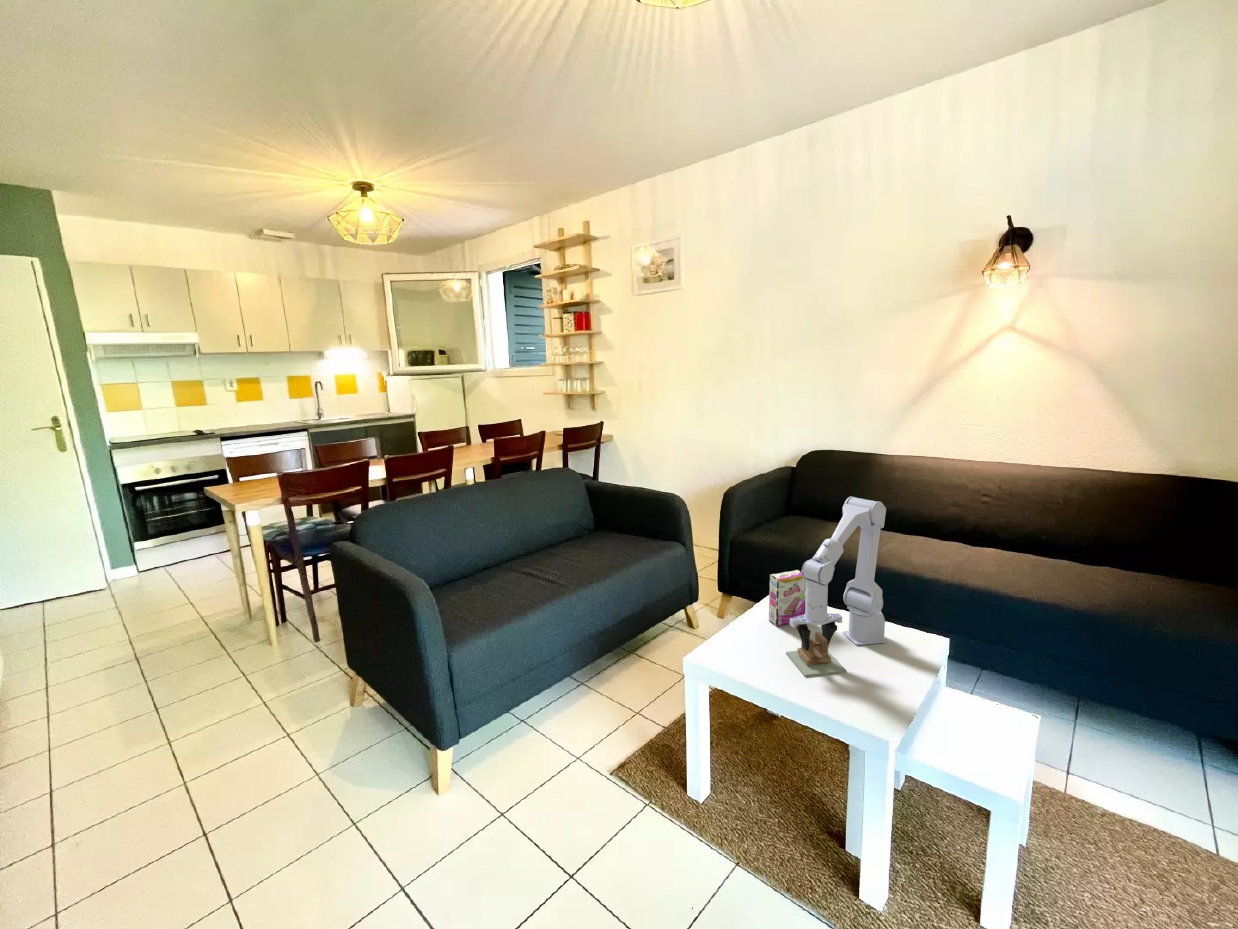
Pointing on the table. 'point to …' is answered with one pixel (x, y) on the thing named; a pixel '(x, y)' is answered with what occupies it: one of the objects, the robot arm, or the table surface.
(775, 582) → the candy bar box
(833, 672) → the mat
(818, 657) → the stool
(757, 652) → the table surface
